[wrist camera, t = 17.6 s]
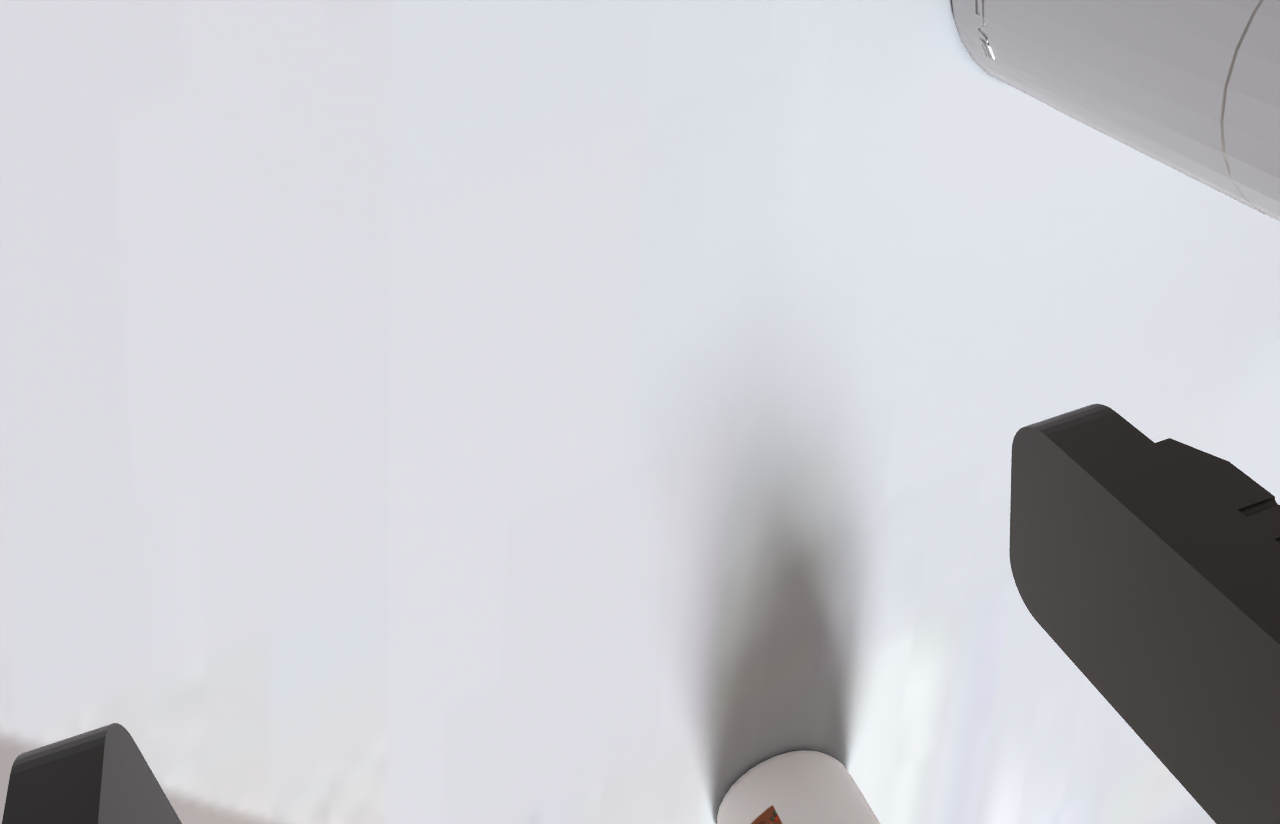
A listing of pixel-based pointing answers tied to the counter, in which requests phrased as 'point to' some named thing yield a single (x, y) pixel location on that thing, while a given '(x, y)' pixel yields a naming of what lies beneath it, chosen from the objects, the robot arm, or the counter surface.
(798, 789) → the milk bottle
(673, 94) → the counter surface
